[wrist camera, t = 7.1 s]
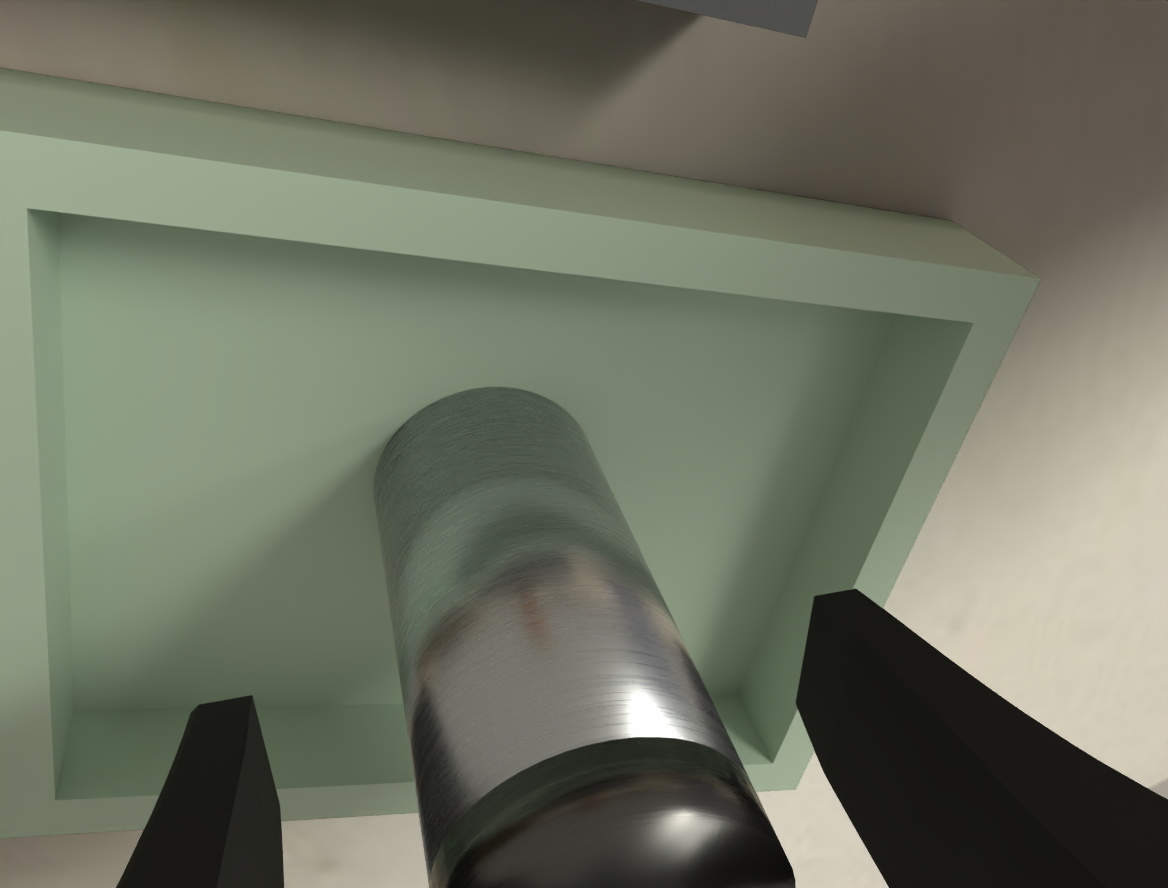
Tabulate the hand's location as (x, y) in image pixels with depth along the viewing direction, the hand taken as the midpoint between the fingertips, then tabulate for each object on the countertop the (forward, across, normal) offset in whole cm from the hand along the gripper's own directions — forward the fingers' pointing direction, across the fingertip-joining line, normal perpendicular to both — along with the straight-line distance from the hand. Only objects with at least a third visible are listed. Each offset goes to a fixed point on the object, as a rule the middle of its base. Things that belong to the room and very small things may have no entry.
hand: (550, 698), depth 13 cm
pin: (+4, 0, 0) cm, 5 cm away
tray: (+5, 0, 0) cm, 5 cm away
